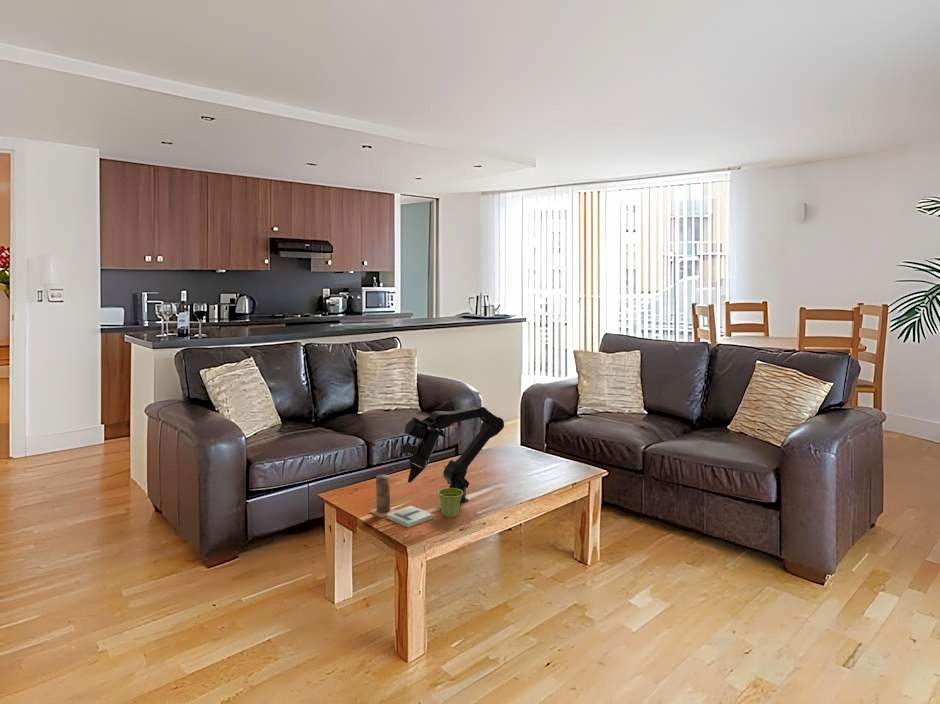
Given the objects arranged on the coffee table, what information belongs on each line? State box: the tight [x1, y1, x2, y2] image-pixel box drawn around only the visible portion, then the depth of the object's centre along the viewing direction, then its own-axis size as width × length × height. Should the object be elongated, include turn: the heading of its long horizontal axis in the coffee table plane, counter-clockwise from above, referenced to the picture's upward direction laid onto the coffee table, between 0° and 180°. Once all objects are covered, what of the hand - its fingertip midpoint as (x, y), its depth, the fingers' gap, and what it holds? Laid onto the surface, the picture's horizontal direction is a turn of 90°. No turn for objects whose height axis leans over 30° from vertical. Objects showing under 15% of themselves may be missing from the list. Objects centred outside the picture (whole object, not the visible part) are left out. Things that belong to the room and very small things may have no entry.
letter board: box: [386, 505, 434, 528], centre depth 233 cm, size 12×12×2 cm
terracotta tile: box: [369, 507, 397, 518], centre depth 238 cm, size 7×7×1 cm
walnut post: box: [375, 474, 391, 513], centre depth 237 cm, size 5×5×13 cm
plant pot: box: [437, 487, 463, 518], centre depth 236 cm, size 9×9×9 cm
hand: (410, 481), depth 239 cm, fingers open, 9 cm apart
